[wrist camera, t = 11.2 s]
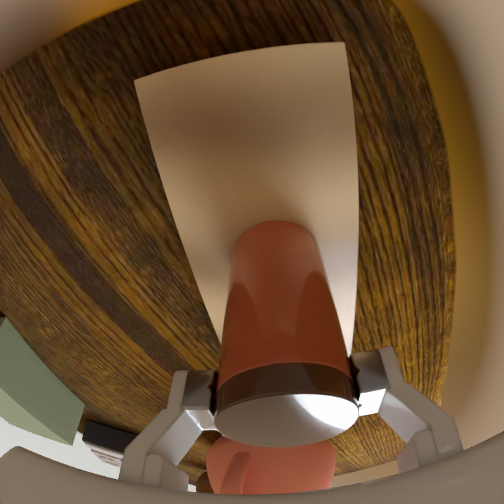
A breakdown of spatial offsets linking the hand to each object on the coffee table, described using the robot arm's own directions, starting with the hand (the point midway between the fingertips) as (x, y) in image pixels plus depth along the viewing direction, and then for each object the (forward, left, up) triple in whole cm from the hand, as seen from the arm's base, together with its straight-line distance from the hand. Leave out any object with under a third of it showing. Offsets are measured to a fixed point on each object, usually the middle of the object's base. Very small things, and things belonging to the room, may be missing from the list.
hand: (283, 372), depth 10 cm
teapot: (+33, -4, -9) cm, 34 cm away
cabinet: (+12, -35, -8) cm, 38 cm away
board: (0, 0, -8) cm, 8 cm away
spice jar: (0, 0, -7) cm, 7 cm away
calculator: (+35, -29, -9) cm, 46 cm away
